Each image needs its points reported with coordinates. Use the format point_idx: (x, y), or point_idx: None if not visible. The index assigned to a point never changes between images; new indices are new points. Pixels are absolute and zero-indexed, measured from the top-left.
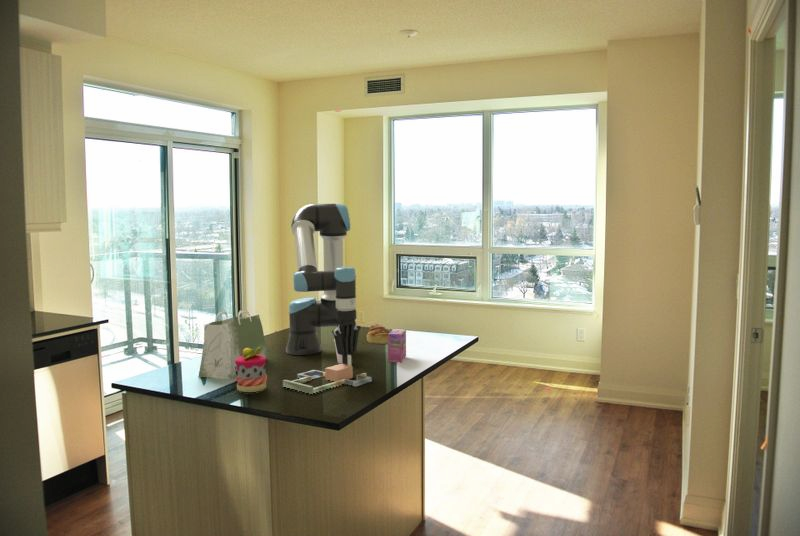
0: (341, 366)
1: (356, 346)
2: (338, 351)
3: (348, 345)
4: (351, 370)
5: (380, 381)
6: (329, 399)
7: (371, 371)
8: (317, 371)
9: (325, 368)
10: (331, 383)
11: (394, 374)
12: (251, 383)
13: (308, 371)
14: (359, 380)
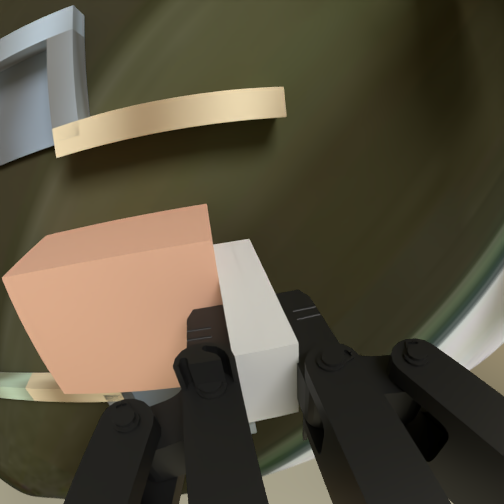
0: (150, 334)
1: (438, 438)
2: (102, 456)
3: (345, 500)
4: None
5: (279, 428)
6: (13, 441)
7: (406, 270)
8: (48, 75)
9: (4, 281)
10: (28, 396)
11: None
12: None
13: (10, 37)
14: None
